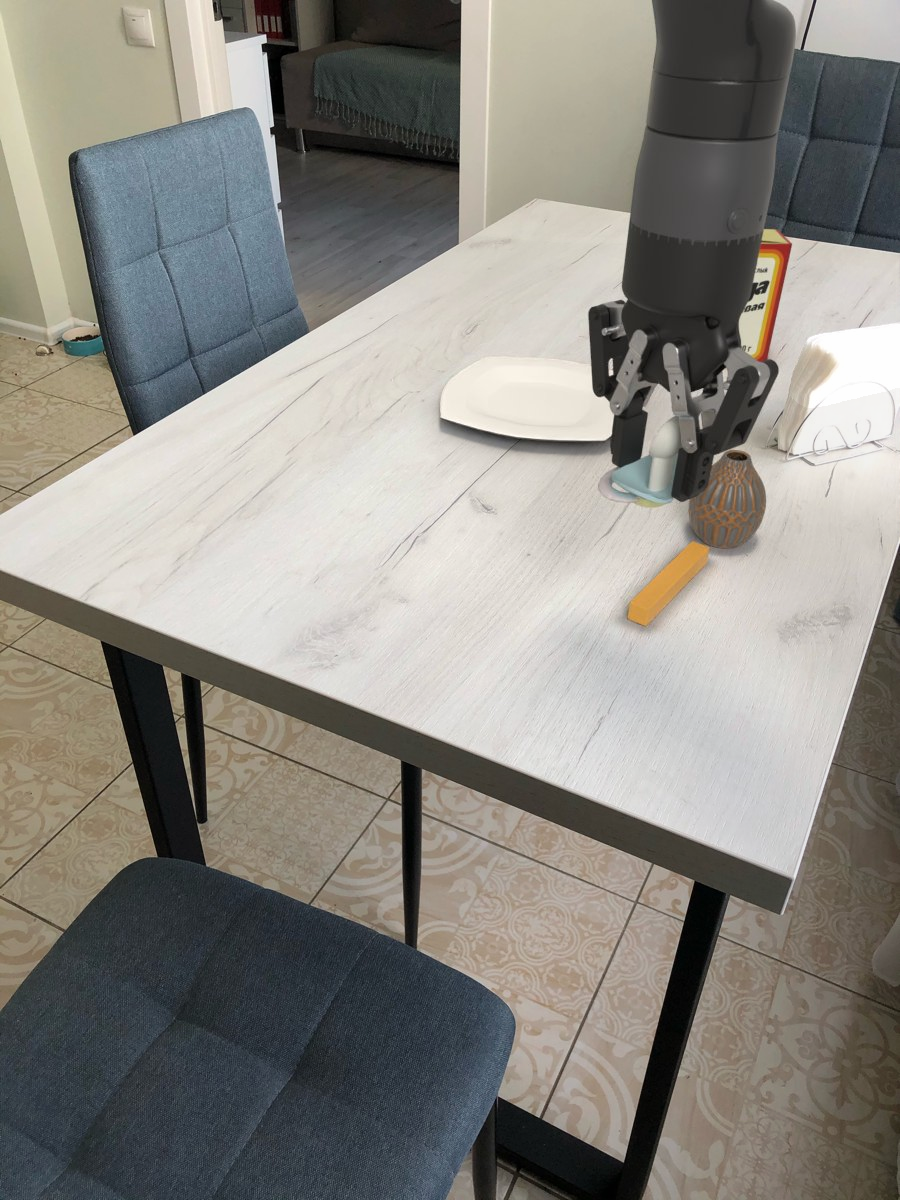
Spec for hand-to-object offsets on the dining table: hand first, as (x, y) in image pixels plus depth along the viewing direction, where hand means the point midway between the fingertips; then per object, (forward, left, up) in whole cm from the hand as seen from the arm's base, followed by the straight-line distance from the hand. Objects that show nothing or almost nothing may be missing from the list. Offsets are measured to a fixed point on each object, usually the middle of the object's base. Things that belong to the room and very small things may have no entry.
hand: (654, 478), depth 63 cm
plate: (+41, -26, -18) cm, 52 cm away
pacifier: (+1, 0, -2) cm, 2 cm away
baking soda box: (+40, -58, -18) cm, 73 cm away
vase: (+9, -22, -18) cm, 29 cm away
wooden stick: (+6, -11, -17) cm, 22 cm away
